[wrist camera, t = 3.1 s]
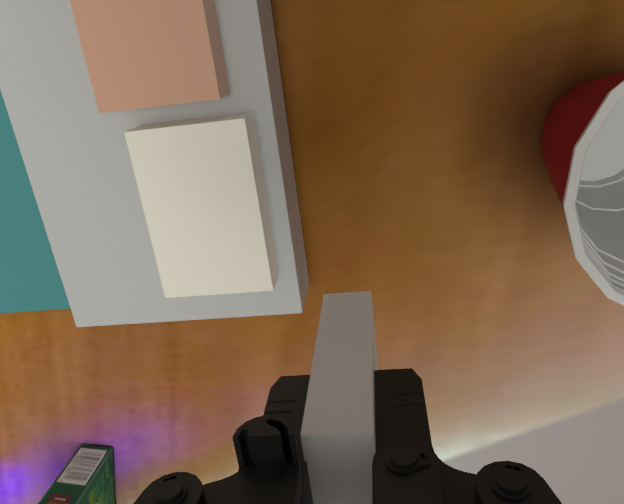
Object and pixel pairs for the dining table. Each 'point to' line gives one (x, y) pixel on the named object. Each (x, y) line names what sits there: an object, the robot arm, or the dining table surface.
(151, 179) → the cream rectangular block
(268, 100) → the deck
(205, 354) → the dining table surface
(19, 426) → the dining table surface
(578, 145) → the plastic cup
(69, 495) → the coffee box
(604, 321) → the dining table surface
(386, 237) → the dining table surface
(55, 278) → the mat
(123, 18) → the salmon pink block
